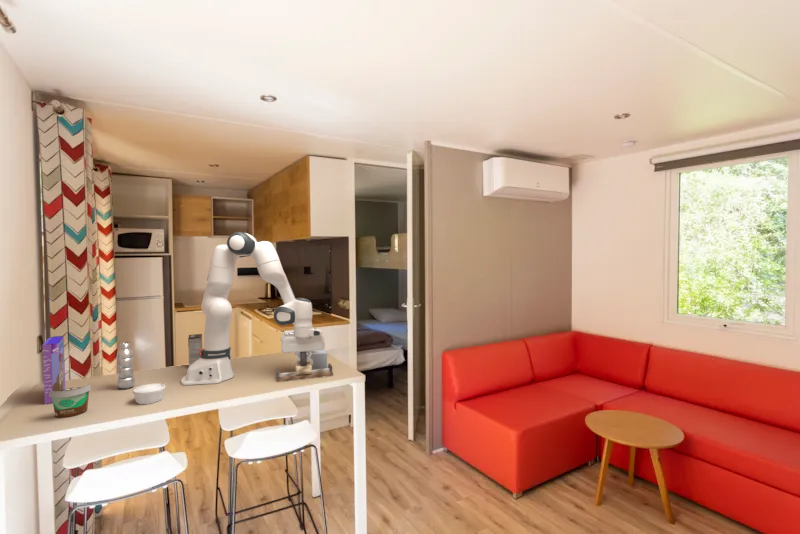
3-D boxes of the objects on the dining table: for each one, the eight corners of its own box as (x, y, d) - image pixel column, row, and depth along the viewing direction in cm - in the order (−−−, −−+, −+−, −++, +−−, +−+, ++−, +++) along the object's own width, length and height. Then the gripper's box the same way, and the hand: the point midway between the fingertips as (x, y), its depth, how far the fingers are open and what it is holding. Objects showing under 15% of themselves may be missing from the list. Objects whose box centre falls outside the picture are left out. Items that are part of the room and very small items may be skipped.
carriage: (296, 375, 192) (296, 353, 191) (295, 372, 197) (295, 350, 197) (311, 374, 194) (311, 351, 194) (310, 370, 200) (309, 349, 199)
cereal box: (60, 402, 164) (58, 343, 163) (44, 404, 161) (42, 344, 160) (65, 389, 178) (63, 335, 177) (51, 391, 175) (49, 336, 174)
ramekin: (169, 400, 165) (168, 387, 165) (137, 408, 158) (136, 394, 157) (161, 393, 173) (161, 381, 173) (130, 400, 166) (130, 387, 165)
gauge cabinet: (299, 374, 200) (298, 356, 199) (296, 369, 208) (296, 352, 207) (327, 371, 205) (327, 353, 204) (324, 366, 213) (324, 349, 212)
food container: (48, 422, 144) (47, 394, 144) (50, 416, 149) (48, 389, 149) (91, 414, 152) (90, 387, 151) (92, 408, 157) (91, 383, 156)
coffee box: (189, 364, 217) (188, 334, 217) (202, 363, 220) (202, 333, 219) (188, 368, 209) (188, 338, 208) (202, 367, 212) (201, 336, 211)
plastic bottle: (138, 385, 183) (137, 341, 182) (125, 391, 176) (123, 345, 176) (127, 384, 185) (126, 341, 184) (113, 389, 178) (112, 344, 177)
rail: (276, 382, 188) (276, 372, 188) (275, 377, 195) (275, 368, 194) (332, 375, 197) (332, 366, 197) (329, 371, 204) (329, 362, 204)
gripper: (281, 334, 188) (281, 364, 189) (325, 331, 196) (325, 360, 196) (280, 332, 194) (280, 360, 195) (323, 329, 201) (323, 357, 202)
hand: (303, 360), depth 195 cm, fingers closed on carriage, 3 cm apart
